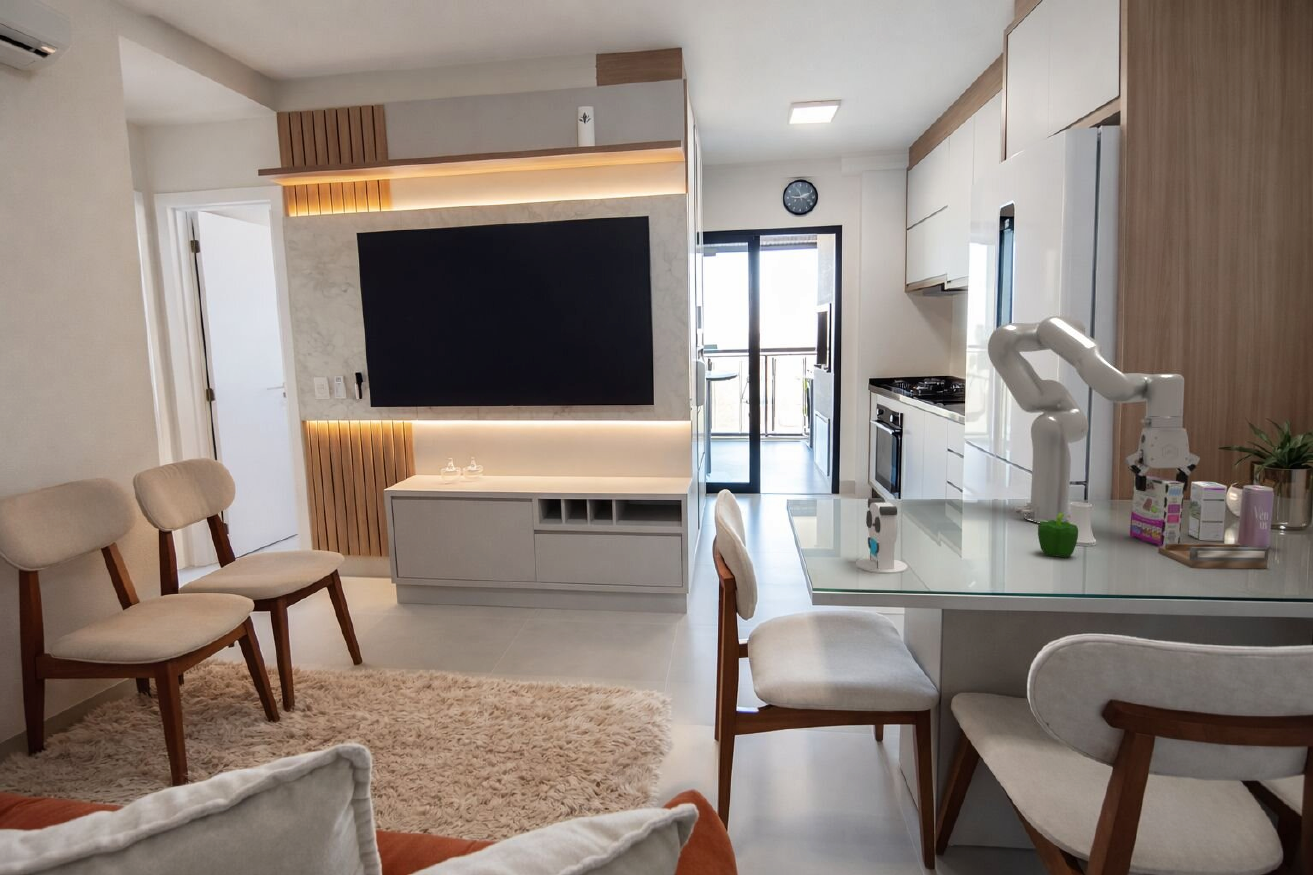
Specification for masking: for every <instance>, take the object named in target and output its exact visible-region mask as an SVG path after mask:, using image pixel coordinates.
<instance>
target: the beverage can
mask: <svg viewBox="0 0 1313 875" xmlns="http://www.w3.org/2000/svg"><path fill="white" fill-rule="evenodd" d="M1274 496H1275V493H1274V488H1273V487H1270V486H1264V485H1263V486H1262V485H1252V484H1248V485H1247V484H1246V485H1243V488H1242V490H1241V498H1240V509H1239V521H1238V522H1239V523H1238V531H1237V532H1238V534H1237V544H1239V545H1240V547H1262V548H1268V549H1269V548H1270V541H1271V540H1270V539H1271V529H1272V526H1271V525H1272V518H1273V508H1274V507H1273V506H1274Z"/></svg>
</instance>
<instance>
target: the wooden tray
mask: <svg viewBox="0 0 1313 875" xmlns="http://www.w3.org/2000/svg"><path fill="white" fill-rule="evenodd" d="M1157 549H1158V551H1157V553H1159V554H1161V555H1163V556H1165V557H1167V558H1170V559H1172V560H1174V561H1176V562H1178V563H1181V564H1183V565H1186V566H1187V567H1190V568H1195V569H1196V568H1199V569H1200V568H1201V569H1202V568H1206V569H1208V568H1209V569H1210V568H1211V569H1212V568H1216V569H1224V568H1225V569H1236V568H1237V569H1267V568H1268V563H1269V562H1268V561H1269V552H1270V551H1269V550H1270V548H1269V547H1268V548H1262V547H1242V546H1240V545H1239V544H1238V543H1202V542H1201V543H1197V542H1196V543H1195V542H1194V543H1193V542H1192V543H1191V542H1190V543H1189V542H1188V543H1187V542H1186V543H1184V542H1182V543H1181V542H1180V543H1166V545H1165V546H1158V548H1157Z"/></svg>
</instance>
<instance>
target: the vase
mask: <svg viewBox="0 0 1313 875" xmlns="http://www.w3.org/2000/svg"><path fill="white" fill-rule="evenodd" d="M1069 504H1070V505H1069V506H1070V515H1069V516H1070V521H1069V523H1070V524H1073V525H1076V526H1077V528H1078V539H1077V542H1076V546H1082V547H1083V546H1084V547H1090V546H1096V545H1097V539H1096V538H1095V537H1094V534H1093V530H1092V524H1091V514H1092V513H1091V511H1092V507H1093V504H1091V503H1088V502H1081V501H1080V502H1077V501H1075V502H1070V503H1069Z"/></svg>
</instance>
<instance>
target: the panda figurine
mask: <svg viewBox="0 0 1313 875" xmlns="http://www.w3.org/2000/svg"><path fill="white" fill-rule="evenodd" d="M867 507H868V508H867V509H868V510H867V511H866V517H865V518H866V520H865V523H866V527H867V529H868V534H869V537H867V545H868V548H869V557H864V558H860V559H858V560H857V561H856V562H855V563H856V564H855V565H856V566H857V567H858V569H861V570H862V571H866V572H869V573H870V572H871V573H876V574H884V575H885V574H886V575H887V574H888V575H890V574H900V573H901V574H902V573H904V572H906V571H907V570H908V567H909V566H908V565H907V563H905V562H903V561H901V560H898V559H895V544H896V541H897V537H898V507H897V506H895V505H893V504H892V503H891V502H886V499H885V498H884V497H883V498H882V497H877V498H876V497H871V498H870V497H869V498H868V499H867Z"/></svg>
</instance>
